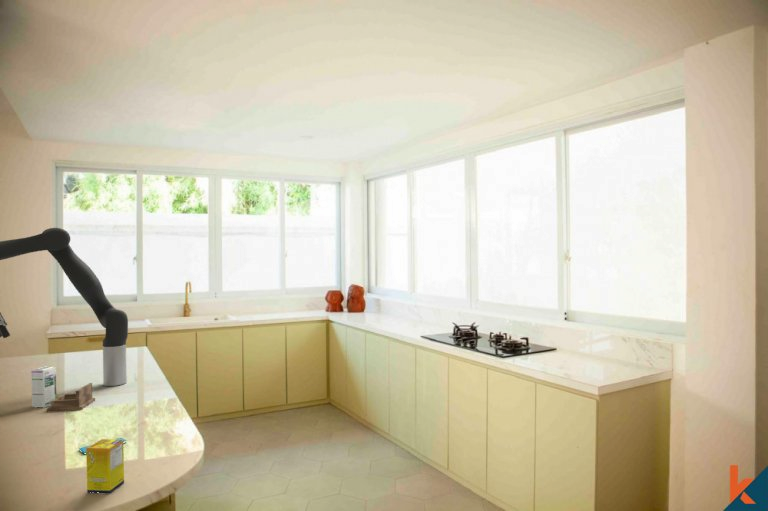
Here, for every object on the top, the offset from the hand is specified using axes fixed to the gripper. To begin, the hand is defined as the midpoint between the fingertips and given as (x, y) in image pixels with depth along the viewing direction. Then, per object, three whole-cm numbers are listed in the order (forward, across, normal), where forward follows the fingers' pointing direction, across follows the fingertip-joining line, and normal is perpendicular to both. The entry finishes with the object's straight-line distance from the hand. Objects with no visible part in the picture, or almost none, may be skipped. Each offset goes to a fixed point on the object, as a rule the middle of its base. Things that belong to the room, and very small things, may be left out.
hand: (3, 337), depth 190 cm
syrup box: (+30, +4, 0) cm, 30 cm away
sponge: (+49, -54, -23) cm, 76 cm away
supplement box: (+54, -84, -26) cm, 103 cm away
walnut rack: (+34, -1, -9) cm, 36 cm away
